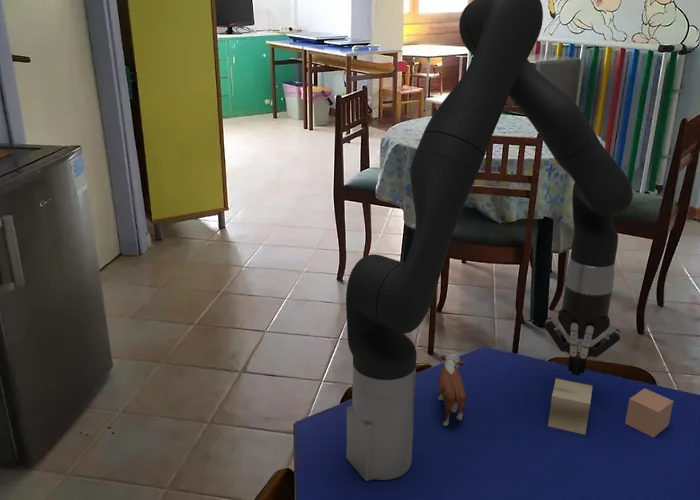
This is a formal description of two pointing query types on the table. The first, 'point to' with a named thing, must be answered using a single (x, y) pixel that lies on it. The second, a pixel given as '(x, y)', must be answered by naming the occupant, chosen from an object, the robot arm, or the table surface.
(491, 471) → the table surface
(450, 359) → the bull figurine
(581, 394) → the oak block
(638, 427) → the terracotta block
